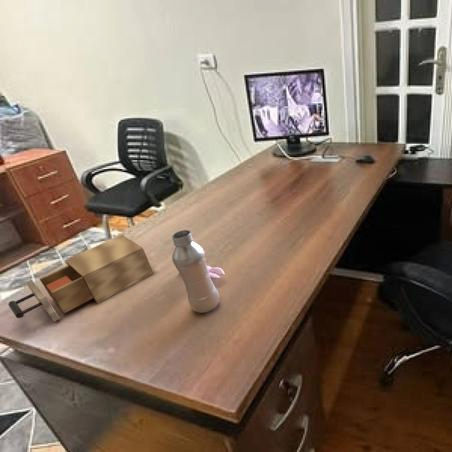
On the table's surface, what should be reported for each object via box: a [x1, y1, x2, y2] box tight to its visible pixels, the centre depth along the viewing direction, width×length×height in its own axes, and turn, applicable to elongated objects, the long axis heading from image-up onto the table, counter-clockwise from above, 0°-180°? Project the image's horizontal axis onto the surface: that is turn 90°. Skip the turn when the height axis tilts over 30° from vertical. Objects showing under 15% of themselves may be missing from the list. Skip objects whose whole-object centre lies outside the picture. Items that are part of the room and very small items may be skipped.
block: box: [46, 276, 72, 300], centre depth 86 cm, size 4×4×4 cm
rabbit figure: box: [178, 265, 225, 279], centre depth 91 cm, size 6×6×15 cm
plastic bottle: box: [171, 229, 220, 314], centre depth 78 cm, size 6×7×20 cm
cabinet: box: [64, 234, 154, 304], centre depth 93 cm, size 15×13×9 cm
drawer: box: [7, 265, 94, 322], centre depth 86 cm, size 18×11×7 cm, turn 141°
